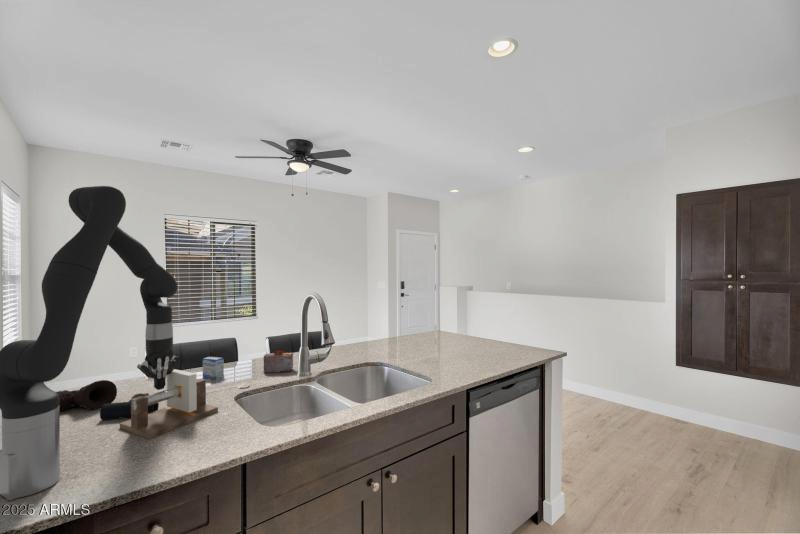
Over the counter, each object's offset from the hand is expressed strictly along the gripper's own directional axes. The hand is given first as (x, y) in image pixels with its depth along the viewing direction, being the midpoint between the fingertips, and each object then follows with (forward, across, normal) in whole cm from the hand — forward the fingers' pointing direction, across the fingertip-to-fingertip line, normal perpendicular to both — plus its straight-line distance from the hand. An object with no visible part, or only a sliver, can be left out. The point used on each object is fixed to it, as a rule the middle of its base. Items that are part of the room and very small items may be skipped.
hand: (159, 388), depth 119 cm
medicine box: (+10, +37, +25) cm, 46 cm away
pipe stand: (+10, +1, -4) cm, 11 cm away
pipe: (+10, -7, +35) cm, 37 cm away
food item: (+10, +57, +5) cm, 58 cm away
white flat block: (+7, +4, -4) cm, 9 cm away
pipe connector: (+10, -1, +13) cm, 17 cm away
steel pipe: (+3, +1, -4) cm, 5 cm away
